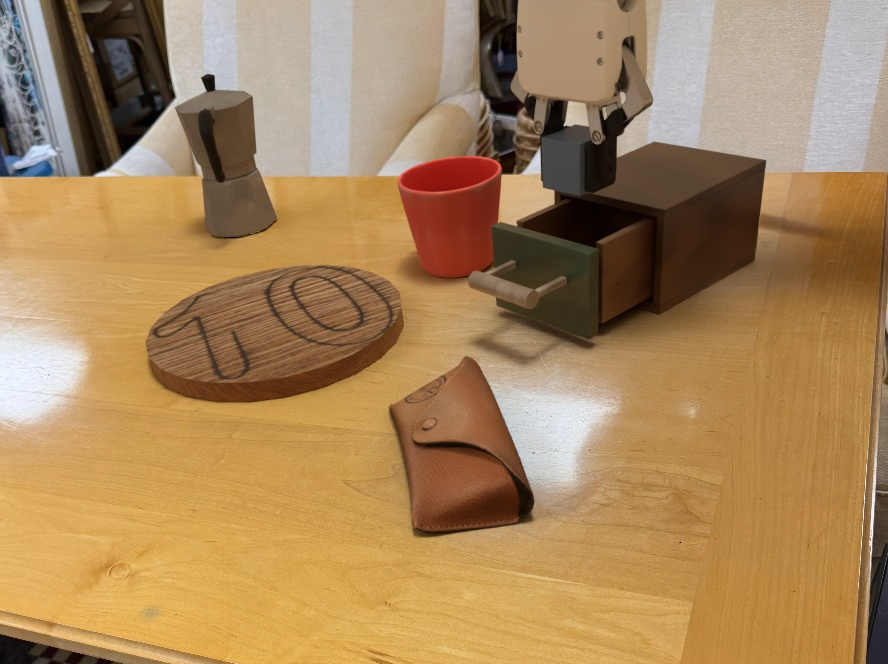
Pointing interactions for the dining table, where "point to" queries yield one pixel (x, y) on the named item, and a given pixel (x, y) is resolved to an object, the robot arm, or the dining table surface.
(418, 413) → the sunglasses case
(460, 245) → the flower pot
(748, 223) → the cabinet
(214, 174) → the coffeepot
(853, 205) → the dining table surface
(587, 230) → the drawer
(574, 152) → the block
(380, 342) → the trivet
